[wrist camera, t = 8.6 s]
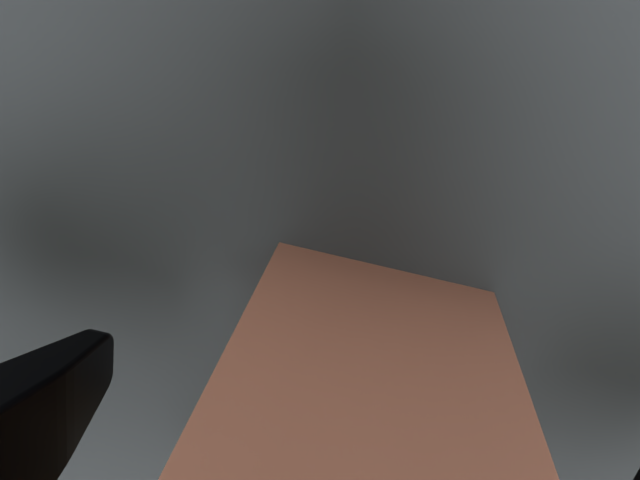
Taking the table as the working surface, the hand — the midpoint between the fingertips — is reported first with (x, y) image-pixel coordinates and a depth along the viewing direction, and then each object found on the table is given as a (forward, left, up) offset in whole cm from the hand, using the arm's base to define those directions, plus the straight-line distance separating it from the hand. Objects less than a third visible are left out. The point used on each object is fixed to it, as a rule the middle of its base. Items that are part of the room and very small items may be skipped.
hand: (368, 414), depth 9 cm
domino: (0, 0, -4) cm, 4 cm away
